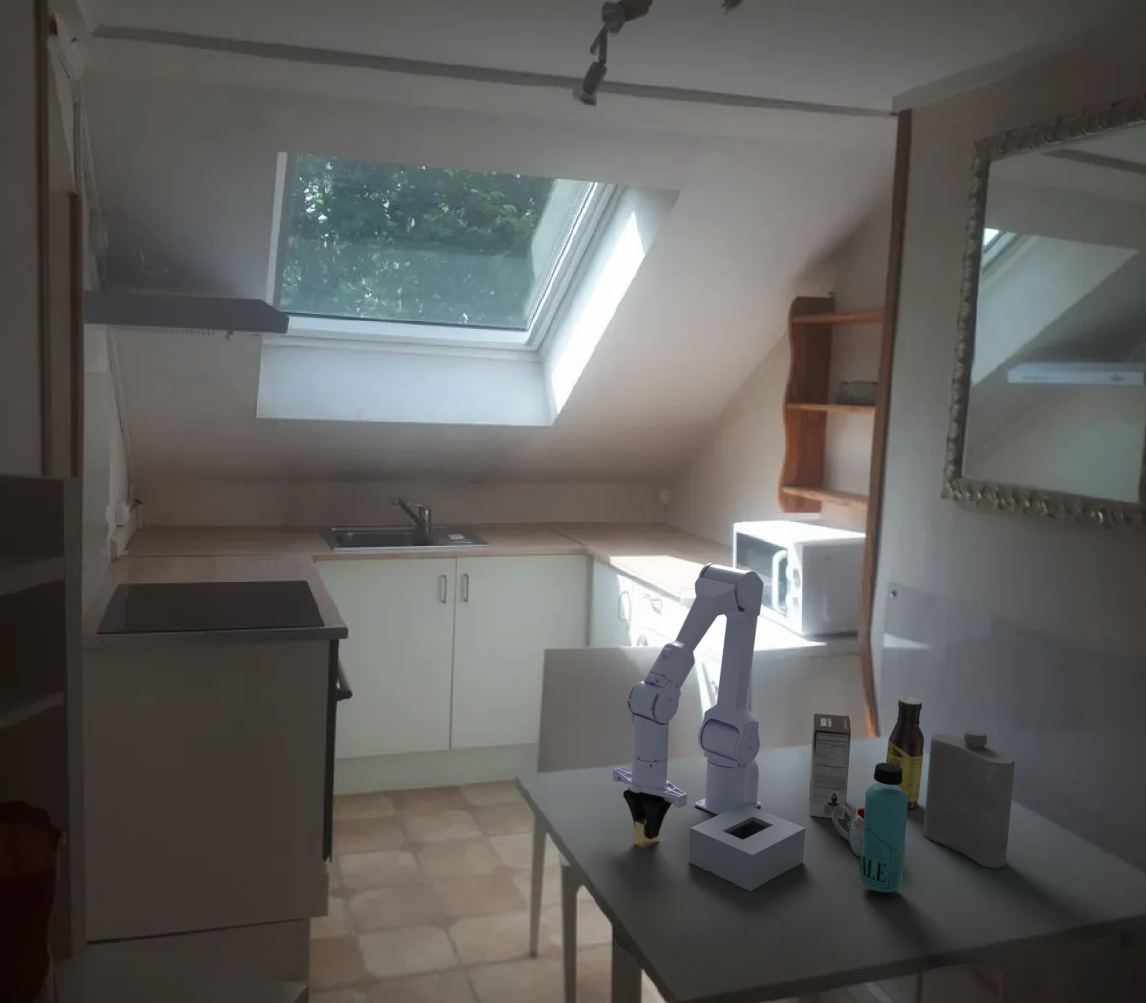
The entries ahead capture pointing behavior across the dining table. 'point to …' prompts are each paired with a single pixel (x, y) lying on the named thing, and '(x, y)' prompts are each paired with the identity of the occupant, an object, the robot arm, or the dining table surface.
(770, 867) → the grey block with hole
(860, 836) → the mug
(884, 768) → the beverage bottle
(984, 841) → the flask
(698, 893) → the dining table surface
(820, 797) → the coffee box
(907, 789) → the sauce bottle
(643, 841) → the brass block
